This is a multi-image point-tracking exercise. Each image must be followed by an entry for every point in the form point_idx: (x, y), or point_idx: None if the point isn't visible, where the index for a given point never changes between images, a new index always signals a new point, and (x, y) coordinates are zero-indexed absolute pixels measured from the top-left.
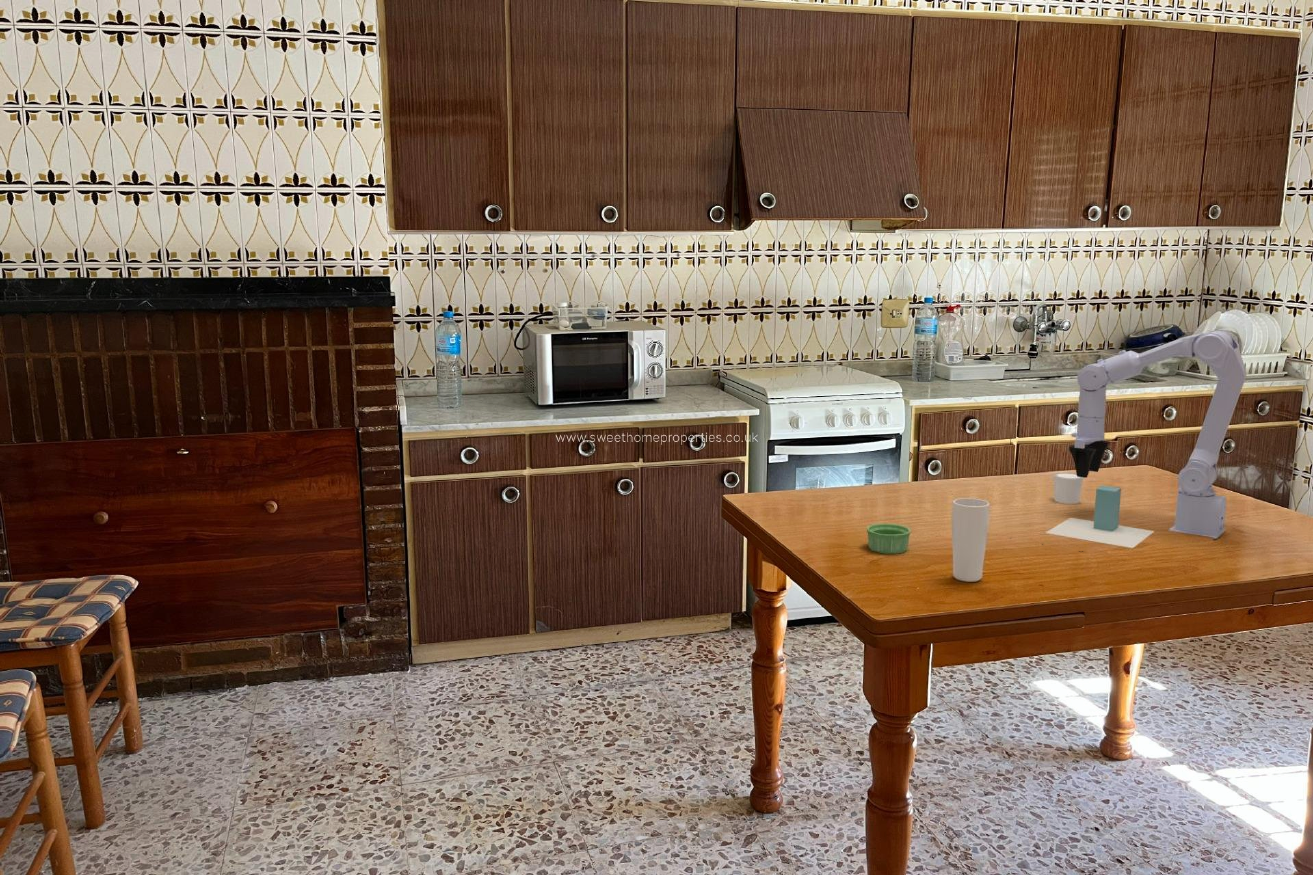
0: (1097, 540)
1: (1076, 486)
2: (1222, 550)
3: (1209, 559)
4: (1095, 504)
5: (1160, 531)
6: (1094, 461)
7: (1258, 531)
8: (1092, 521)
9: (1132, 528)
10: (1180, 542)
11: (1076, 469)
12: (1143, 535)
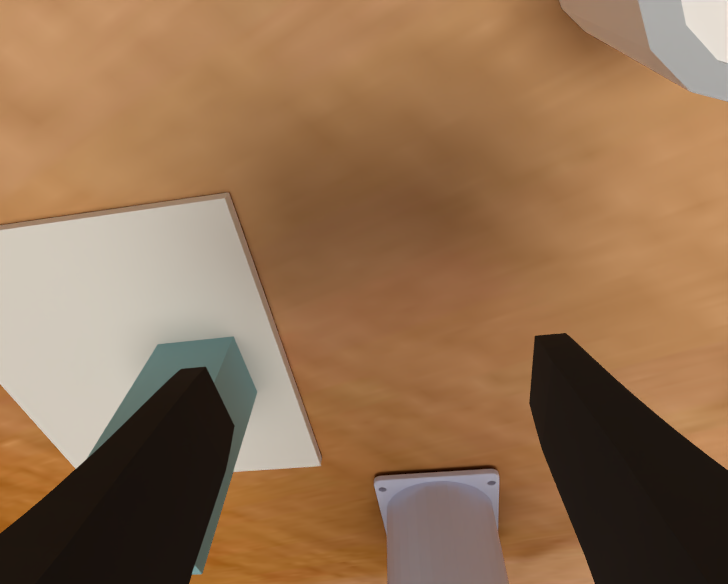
0: (38, 407)
1: (648, 65)
2: (309, 563)
3: (212, 564)
4: (102, 436)
5: (369, 458)
6: (580, 477)
7: (561, 569)
8: (255, 299)
9: (292, 421)
10: (294, 510)
11: (127, 428)
12: (240, 462)
